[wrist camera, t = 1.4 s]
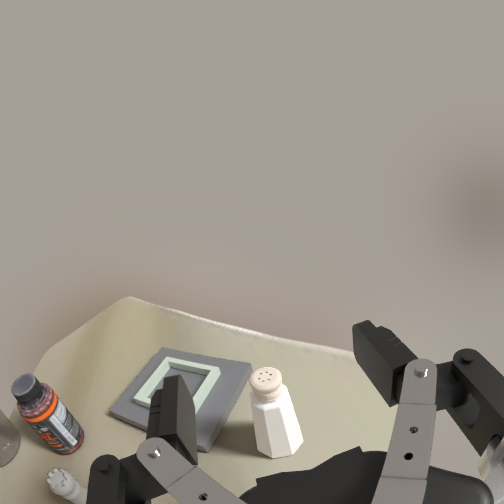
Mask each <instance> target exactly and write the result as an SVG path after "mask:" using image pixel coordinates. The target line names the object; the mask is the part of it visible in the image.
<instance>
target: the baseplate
mask: <svg viewBox="0 0 504 504" xmlns="http://www.w3.org/2000/svg"><path fill="white" fill-rule="evenodd" d="M251 372H252V367H251V363H246V362H240V361H233V360H227V359H221V358H215V357H209V356H204V355H198V354H193V353H188V352H183V351H178V350H173V349H168V348H163V347H162V348H161V349H160V350H159V352H158V353H157V354H156V355H155V356H154V358H153V359H152V360H151V361H150V362H149V363H148V365H147V366H146V367H145V368H144V369H143V371H142V372H141V373H140V374H139V375H138V377H137V378H136V379H135V380H134V381H133V383H132V384H131V385H130V386H129V387H128V389H127V390H126V391H125V392H124V393H123V395H122V396H121V397H120V398H119V399H118V401H117V402H116V403H115V404H114V405H113V407H112V408H111V409H110V412H111V413H112V414H113V416H114V417H116V418H118V419H120V420H122V421H125V422H127V423H129V424H131V425H134V426H136V427H138V428H141V429H143V430H145V431H147V427H148V418H149V410H150V402H151V397H152V396H153V394H154V393H155V391H156V390H158V389H163V380H164V377H168V376H173V375H177V374H180V375H181V376H182V378H183V380H184V382H185V384H186V386H187V388H188V390H189V392H190V394H191V396H192V398H193V401H194V405H195V418H196V441H197V450H200V451H203V452H206V453H209V451H210V449H211V447H212V446H213V444H214V442H215V440H216V438H217V437H218V435H219V433H220V431H221V429H222V427H223V426H224V424H225V422H226V420H227V418H228V416H229V414H230V413H231V411H232V409H233V407H234V405H235V403H236V401H237V399H238V398H239V396H240V394H241V392H242V390H243V388H244V386H245V384H246V382H247V380H248V378H249V376H250V374H251Z"/></svg>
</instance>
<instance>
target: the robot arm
mask: <svg viewBox="0 0 504 504" xmlns="http://www.w3.org/2000/svg"><path fill="white" fill-rule="evenodd" d="M352 331H353V348H354V355H355V358H356V360H357V362H358V364H359V365H360V367H361V368H362V369H363V371H364V372H365V373H366V375H367V376H368V378H369V379H370V380H371V382H372V383H373V385H374V386H375V387H376V389H377V390H378V392H379V393H380V394H381V396H382V397H383V398H384V400H385V401H386V403H387V404H388V405H389V407H391V406H394V405H396V404H398V409H397V414H396V419H395V423H394V428H393V432H392V436H391V440H390V444H389V448H388V452H383V451H366V452H362V450H361V448H360V446H358V447H356V448H353V449H351V450H348V451H346V452H343V453H340V454H338V455H335V456H333V457H332V458H330V459H328V460H327V461H325V462H323V463H322V464H320V465H318V466H317V467H315V468H313V469H311V470H304V471H293V472H281V473H277V474H274V475H270V476H266V477H261V478H257V479H256V482H257V486H255V487H253V488H251V489H250V490H248V491H246V492H245V493H244V494H242V495H241V496H240V497H239V498H238V497H237V496H235V495H234V494H233V493H231V492H230V491H228V490H227V489H226V488H224V487H223V486H222V485H220V484H219V483H218V482H217V481H215V480H214V479H213V478H211V477H210V476H209V475H208V474H206V473H205V472H204V471H203V470H202V469H200V468H199V467H198V466H193V465H198V459H197V441H196V418H195V405H194V401H193V398H192V396H191V394H190V392H189V390H188V388H187V386H186V384H185V382H184V380H183V378H182V376H181V375H180V374H177V375H173V376H168V377H164V380H163V389H158V390H156V391H155V393H154V394H153V396H152V397H151V402H150V410H149V418H148V427H147V436H146V440H145V441H144V442H142V443H141V444H140V445H139V447H138V449H137V453H136V454H134V455H131V456H129V457H126V458H123V459H120V460H118V459H117V458H116V457H115V456H113V455H102V456H100V457H98V458H97V459H96V460H95V461H94V462H93V463H92V465H91V469H90V476H89V483H88V491H87V499H86V504H151V499H152V498H155V497H158V496H160V495H163V494H166V493H168V492H169V493H170V494H171V495H172V496H173V497H174V498H175V499H176V500H177V501H178V502H179V503H180V504H498V503H499V502H500V501H502V500H503V499H504V377H503V375H502V374H501V373H499V371H497V370H496V369H495V368H494V367H493V366H492V365H491V364H490V363H489V362H488V361H487V360H486V359H485V358H484V357H483V356H482V355H481V354H480V353H479V352H477V351H476V350H473V349H462V350H459V351H457V352H456V353H455V354H454V356H453V361H450V362H446V363H441V364H434V363H433V362H432V361H430V360H428V359H418V358H417V357H416V356H415V355H414V354H413V353H412V351H410V349H409V348H408V347H407V346H406V345H405V344H404V343H402V342H401V340H400V339H398V337H396V335H395V334H394V333H393V332H392V331H391V330H389V329H387V328H384V327H382V326H380V327H377V328H376V327H375V326H374V325H373V324H372V323H371V322H370V321H369V320H366V321H363V322H360V323H358V324H355V325H353V328H352ZM443 409H446V410H447V412H448V413H449V414H450V416H451V417H452V418H453V420H454V421H455V422H456V423H457V425H458V426H459V428H460V429H461V430H462V432H463V433H464V434H465V436H466V437H467V439H468V440H469V441H470V443H471V444H472V445H473V447H474V448H475V450H476V451H477V452H478V454H479V455H480V457H481V458H480V460H479V463H478V470H479V472H480V475H481V480H480V479H477V478H475V477H471V476H466V475H463V474H459V473H455V472H451V471H447V470H443V469H440V468H436V467H433V466H430V465H429V462H430V456H431V450H432V443H433V435H434V427H435V418H436V411H439V410H443ZM19 445H20V434H19V431H18V429H17V428H16V427H15V426H14V425H13V424H12V423H11V421H10V420H9V419H8V418H7V417H6V416H5V415H4V414H3V412H2V411H1V410H0V466H3V465H5V464H7V463H8V462H9V461H10V460H11V459H12V458H13V457H14V456H15V454H16V452H17V450H18V448H19Z"/></svg>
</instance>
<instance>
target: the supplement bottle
mask: <svg viewBox="0 0 504 504" xmlns="http://www.w3.org/2000/svg"><path fill="white" fill-rule="evenodd" d="M11 391H12V394H13V395H14V396H15V398H16V399H17V407H18V411H19V413H20V414H21V415H22V417H23V418H24V419H25V420H26V421H27V422H28V424H29V425H30V426H31V427H32V428H33V429H34V430H35V431H36V432H37V433H38V435H39V436H40V437H41V438H42V439H43V440H44V441H45V442H46V443H47V444H48V445H49V446H50V447H51V448H52V449H53V450H54V451H56V452H57V453H59V454H70V453H73V452H75V451H76V450H77V449H78V448H79V447H80V446H81V445H82V443H83V440H84V431H83V429H82V427H81V426H80V425H79V423H78V422H77V421H76V420H75V418H74V417H73V416H72V415H71V413H70V412H69V411H68V409H67V408H66V407H65V406H64V404H63V403H62V402H61V400H60V399H59V398H58V396H57V395H56V394H55V392H54V391H53V390H52V389H51V387H50V386H48V385H47V384H44V383H39V381H38V380H37V379H36V377H35V376H34V375H33V374H30V373H28V374H24V375H21V376H20V377H18V378H17V379H16V380H15V381H14V383H13V385H12V388H11Z"/></svg>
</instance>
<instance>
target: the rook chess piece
mask: <svg viewBox="0 0 504 504" xmlns="http://www.w3.org/2000/svg"><path fill="white" fill-rule="evenodd" d="M53 471H54V472H53V473H51V472H50V471H49V472H48V474H47V475H48V476H49V477H50V478H46V480H47V483H48V484H49V486H50V489H51V490H52V492H53V493H55V494H56V495H61V496H62V497H63V498H65V499H66V500H70V501H71V502H72V503H73V504H86V499H87V491H88V489H87V488H85V487H83V486H81V485H80V483H79V481H78V480H76V479H74V476H73V474H72V473H71V472H70V471H68V470H64V469H61V468H59V470H58V469H57V468H53Z"/></svg>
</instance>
